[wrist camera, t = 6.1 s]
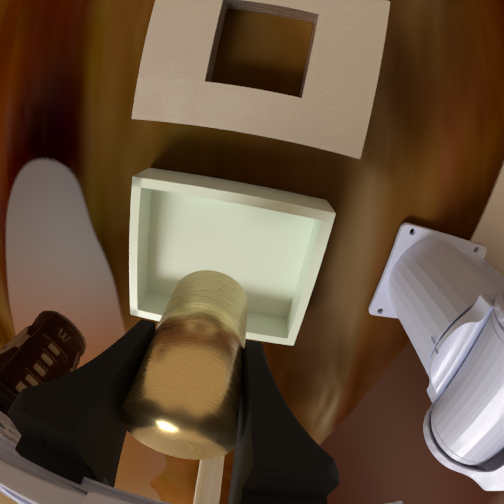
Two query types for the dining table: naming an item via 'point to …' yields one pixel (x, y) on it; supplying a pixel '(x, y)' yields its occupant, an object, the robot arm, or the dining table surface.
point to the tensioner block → (260, 101)
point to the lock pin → (192, 371)
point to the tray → (227, 245)
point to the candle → (209, 481)
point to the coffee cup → (36, 361)
